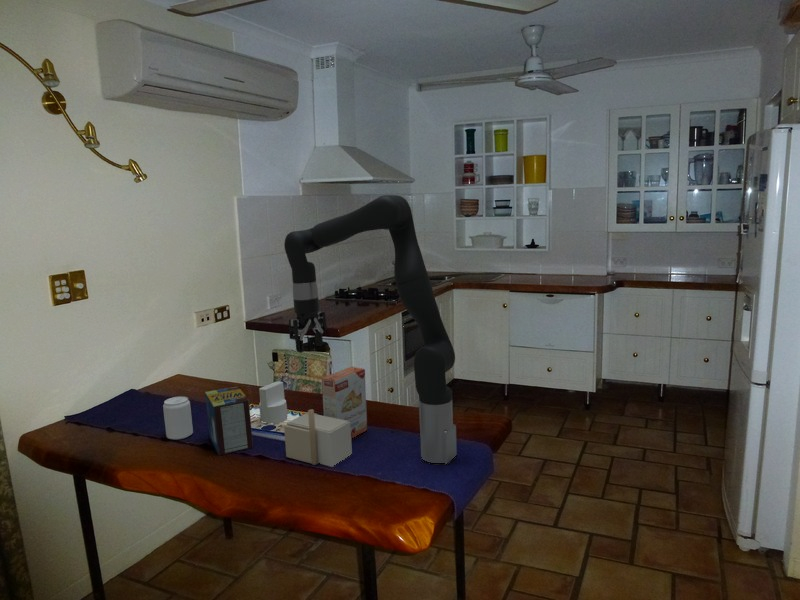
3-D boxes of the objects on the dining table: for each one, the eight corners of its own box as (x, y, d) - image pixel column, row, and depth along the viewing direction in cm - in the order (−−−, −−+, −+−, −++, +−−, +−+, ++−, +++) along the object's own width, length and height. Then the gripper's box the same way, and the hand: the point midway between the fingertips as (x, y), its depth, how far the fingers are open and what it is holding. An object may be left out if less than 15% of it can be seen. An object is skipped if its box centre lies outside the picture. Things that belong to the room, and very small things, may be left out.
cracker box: (339, 447, 178) (334, 380, 175) (324, 443, 182) (320, 377, 178) (369, 431, 189) (365, 368, 186) (354, 427, 193) (350, 365, 189)
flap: (318, 463, 168) (315, 409, 165) (315, 465, 166) (311, 411, 164) (289, 455, 174) (285, 403, 171) (285, 457, 172) (281, 405, 170)
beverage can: (162, 436, 192) (157, 401, 190) (185, 428, 198) (181, 394, 196) (174, 443, 187) (169, 406, 185) (198, 434, 193) (194, 399, 191)
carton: (352, 454, 173) (350, 420, 171) (332, 467, 166) (330, 431, 164) (309, 444, 182) (307, 412, 180) (289, 455, 174) (286, 422, 172)
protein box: (242, 431, 194) (238, 385, 192) (253, 448, 181) (249, 399, 178) (209, 438, 190) (204, 391, 187) (218, 456, 176) (213, 406, 173)
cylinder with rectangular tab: (274, 426, 197) (271, 391, 195) (255, 421, 202) (251, 387, 200) (293, 416, 205) (290, 383, 203) (273, 412, 210) (270, 380, 208)
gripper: (298, 301, 173) (303, 355, 176) (330, 293, 185) (334, 344, 187) (280, 300, 177) (284, 353, 180) (312, 292, 189) (316, 342, 191)
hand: (310, 348), depth 183 cm, fingers open, 8 cm apart
